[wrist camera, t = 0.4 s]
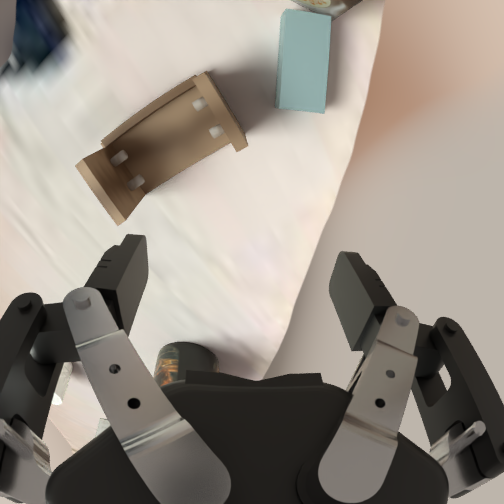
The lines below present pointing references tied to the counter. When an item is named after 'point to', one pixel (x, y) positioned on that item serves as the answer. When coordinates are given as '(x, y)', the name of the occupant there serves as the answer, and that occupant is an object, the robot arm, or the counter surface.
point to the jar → (182, 362)
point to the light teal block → (303, 61)
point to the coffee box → (328, 6)
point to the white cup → (62, 384)
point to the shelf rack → (160, 144)
